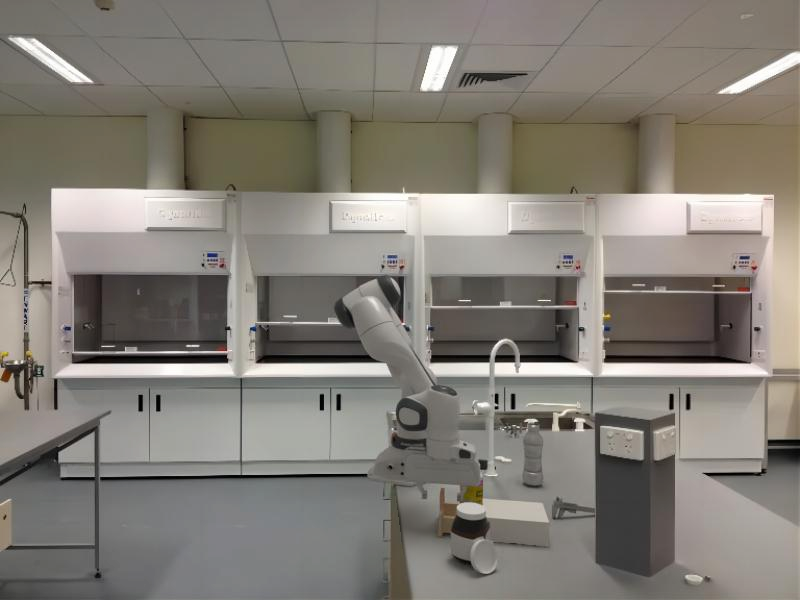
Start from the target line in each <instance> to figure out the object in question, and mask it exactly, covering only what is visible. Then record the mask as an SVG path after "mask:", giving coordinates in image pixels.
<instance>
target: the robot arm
mask: <svg viewBox="0 0 800 600" xmlns="http://www.w3.org/2000/svg"><path fill="white" fill-rule="evenodd" d="M401 298H402V296H401V289H400V286H399V283H397V281H396V280H395V279H394V278H392V277H391V276H390V275H388V274H383V275H380V276H377V277H376V278H375V279H372V280H369V281H366V282H365V283H363V284H360V285H359V286H358V287H357V288H355V289H354V290H352V291H350V292H349V293H347V294H346V295H345V296H341V297H340V298H339V299H338V300H336V302H335V304H334V307H333V309H334V316H335V318H336V320H337V321H338V322H339V324H341V325H342V326H343V327H344V328H346V329H350V330H351V329H355V330H356V332H357V335H358V338H359V340H360V342H361V344H362V346H363V348H364V350H365V351H366V352H367V354H368V355H369V356H370V357H371V358H372V359H374V360H375V361H378V362H381V363H385V364H386V366H387V369H388V371H389V373H390V376H391V377H392V379H393V381H394V383H395V385H396V387H398V389H400V390H401V398H400V400H399V401H398V402H397V404H396V407H395V418H396V423H397V424H396V425H397V427H396V430H397V431H395V432H393V433H392V434H391V438H390V443H391V445H389V446H388V447H386V448H385V449H383V451H380V453H378V455H377V456H376V458H375V461H374V465H373V466H372V467H371V468H369V470H368V471H367V475H366V477H367V479H368V480H369V481H370V482H377V483H385V484H391V485H399V486H406V487H414V486H415V485H416V486H417V489H418V490H419V492H420V493H421V498H420V499H422V500H427V499H428V490H426V489H424V483H425V484H437V485H438V484H439V485H452V486H460V485H462V491H461V492H460V491H459V492H457V493H456V502H457V503H458V502H459V503H460V502H463V495H464V493H465V492H466V490H467V486H478V485H479V484H480V483H481V477H480V472H481V465H480V466H479V463H480V461H479V458H478V456H477V447H476V446H475V445H474V444H472V443H469V442H466V441H463V440H461V437H460V436H461V435H460V431H459V425H460V423H461V408H460V407H461V406H460V398H459V394H458V392H457V391H456V390H455V389H454V388H453V387H450V386H448V385H443V384H441V385H440V384H438V378H437V376H436V374H435V373H434V372H433V370H432V369H431V368H429V367H428V366H426V365H424V363H422V360H421V359H420V358H419V357H418V355H417V353H416V351H415V348H414V345H413V341H412V340H411V337H410V335H409V334H408V332H407V330H406V328H405V326H404V325H403V323H402V321H401V319H400V317H399V316H398V315H397V313H396V311H395V310H394V309H396V308H397V305H398V304H399V303H400V302H401Z"/></svg>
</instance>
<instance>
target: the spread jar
mask: <svg viewBox="0 0 800 600" xmlns="http://www.w3.org/2000/svg"><path fill="white" fill-rule="evenodd" d="M450 553H451V556H452V557H453V558H454V559H455V560H457V561H458V562H459V563H461V564H463V563H464V565H466V564H468V566H472V568H473V569H474V570H475V571H476V572H478V573H480V574H484V575H489V574H491V573H492V572H494V571H495V570H496V568H497V566H498V562H499V551H498V549H497V547H496V545H495V544H494V542H491V541H490V522H489V519H488V518H487V517H486V508H485V507H484V506H482V505H480V504H477V503H471V502H466V503H461V504H459V505H458V506H457V515H456V517H455V519H454V521H453V523H452V527H451V533H450ZM487 570H488V571H487Z"/></svg>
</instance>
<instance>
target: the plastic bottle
mask: <svg viewBox="0 0 800 600" xmlns="http://www.w3.org/2000/svg"><path fill="white" fill-rule="evenodd" d="M526 429H527V432H526V433H525V434H524V436H523V437H522V444H523V445H522V446H523V450H524V451H523V452H524V454H523V455H524V463H523V464H524V465H523V470H522V481H523V482H524V484H525V485H527V486H531V487H539V486H541V485H543V482H544V473H543V466H542V465H543V463H542V462H543V461H542V456H543V448H544V438H543V437H542V435H541V433H540V424H539V423H535V422H529V423H527V428H526Z"/></svg>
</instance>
